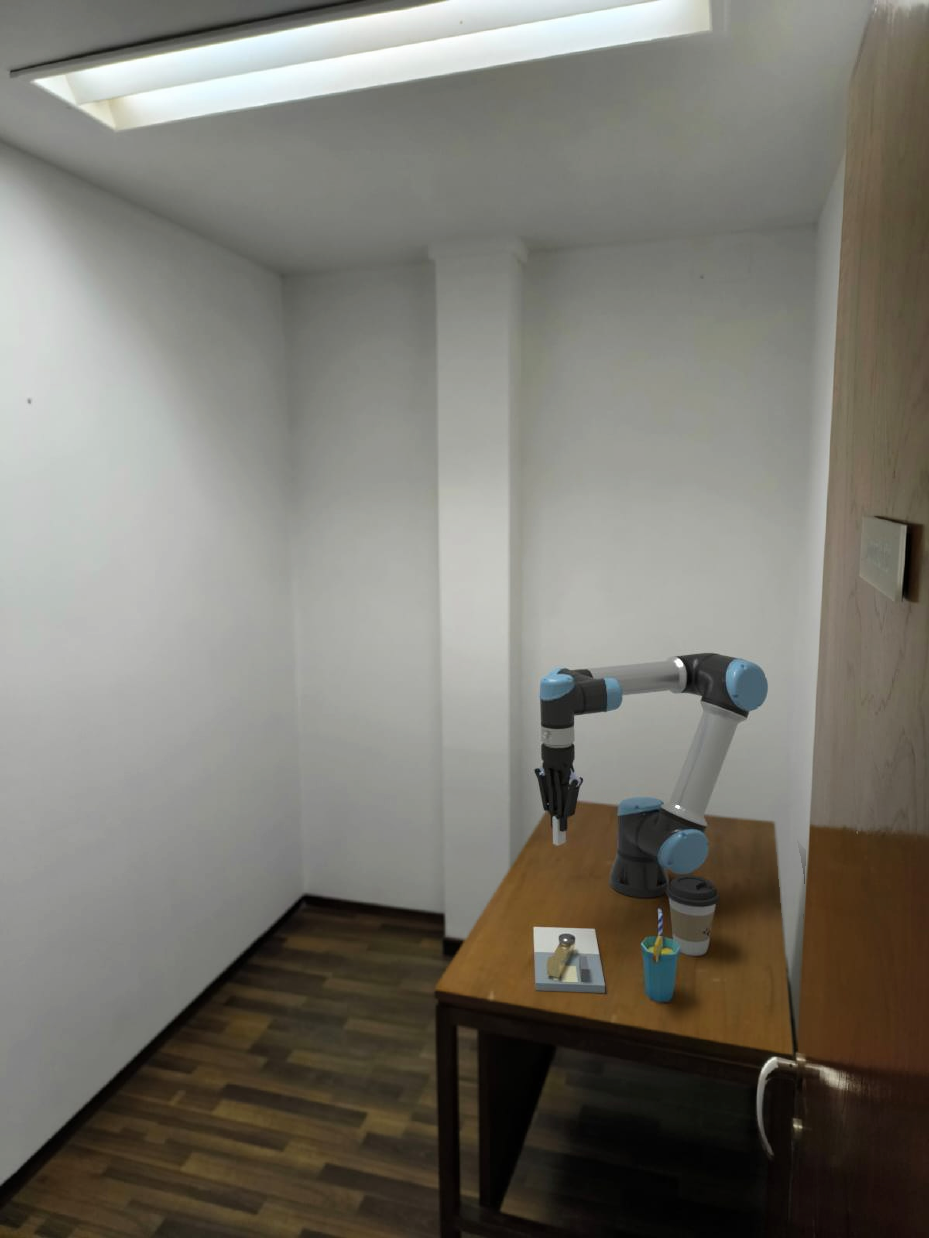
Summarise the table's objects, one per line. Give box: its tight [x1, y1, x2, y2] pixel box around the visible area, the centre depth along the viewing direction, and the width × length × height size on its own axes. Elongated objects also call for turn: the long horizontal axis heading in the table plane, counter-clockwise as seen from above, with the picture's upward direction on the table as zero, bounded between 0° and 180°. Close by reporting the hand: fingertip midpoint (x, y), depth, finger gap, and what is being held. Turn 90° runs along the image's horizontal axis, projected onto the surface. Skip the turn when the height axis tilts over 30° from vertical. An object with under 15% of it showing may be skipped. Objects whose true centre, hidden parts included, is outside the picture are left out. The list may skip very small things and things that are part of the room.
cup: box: [640, 908, 681, 1003], centre depth 163 cm, size 14×8×15 cm, turn 168°
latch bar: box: [547, 934, 575, 977], centre depth 172 cm, size 13×4×3 cm, turn 158°
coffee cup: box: [665, 874, 720, 957], centre depth 181 cm, size 11×11×15 cm
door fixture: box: [533, 926, 606, 994], centre depth 176 cm, size 14×23×4 cm, turn 176°
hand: (559, 842), depth 186 cm, fingers closed
